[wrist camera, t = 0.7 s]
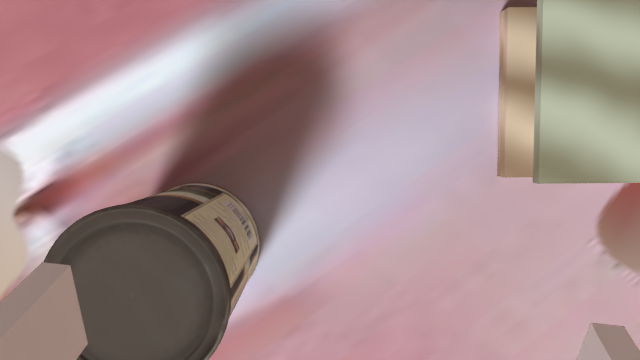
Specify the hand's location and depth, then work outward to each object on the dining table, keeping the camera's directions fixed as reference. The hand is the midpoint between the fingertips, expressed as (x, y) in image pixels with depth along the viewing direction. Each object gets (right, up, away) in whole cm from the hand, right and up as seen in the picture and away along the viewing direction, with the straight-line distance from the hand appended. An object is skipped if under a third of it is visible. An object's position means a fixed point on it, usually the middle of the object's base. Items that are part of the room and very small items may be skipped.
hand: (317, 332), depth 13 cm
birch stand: (+21, +11, +26) cm, 35 cm away
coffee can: (-10, -1, +27) cm, 29 cm away
